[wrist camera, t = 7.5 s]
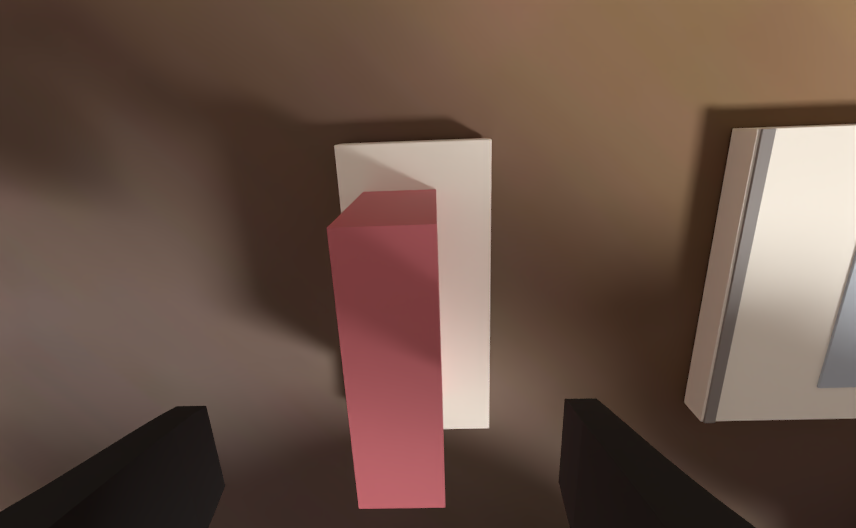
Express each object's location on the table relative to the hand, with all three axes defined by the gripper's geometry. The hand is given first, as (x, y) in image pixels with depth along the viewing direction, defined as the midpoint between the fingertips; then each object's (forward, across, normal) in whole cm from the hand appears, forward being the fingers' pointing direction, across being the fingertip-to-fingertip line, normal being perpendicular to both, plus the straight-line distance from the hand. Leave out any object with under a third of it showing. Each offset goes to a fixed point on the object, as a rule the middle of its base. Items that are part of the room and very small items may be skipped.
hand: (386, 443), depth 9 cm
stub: (+8, 0, 0) cm, 8 cm away
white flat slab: (+8, -16, 0) cm, 18 cm away
